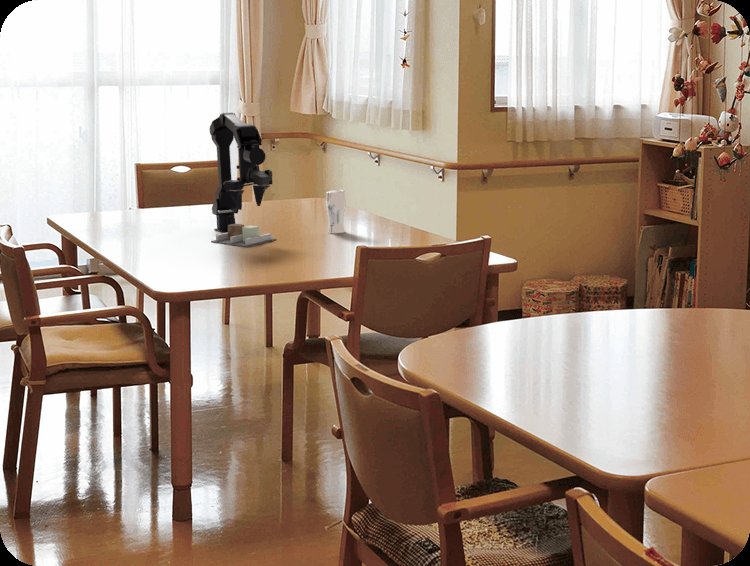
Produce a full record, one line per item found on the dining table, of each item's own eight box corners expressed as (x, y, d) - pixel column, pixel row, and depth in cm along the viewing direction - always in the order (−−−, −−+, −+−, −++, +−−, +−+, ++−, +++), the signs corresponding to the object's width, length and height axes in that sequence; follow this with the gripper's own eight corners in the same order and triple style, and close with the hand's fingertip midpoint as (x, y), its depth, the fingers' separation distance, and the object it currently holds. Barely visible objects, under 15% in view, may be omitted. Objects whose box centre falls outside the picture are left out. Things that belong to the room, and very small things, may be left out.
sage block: (242, 241, 330) (242, 227, 328) (251, 239, 333) (250, 225, 332) (251, 242, 327) (250, 228, 326) (259, 240, 330) (258, 226, 329)
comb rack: (210, 242, 331) (210, 235, 331) (241, 235, 343) (240, 228, 342) (246, 247, 321) (246, 240, 321) (276, 239, 333) (276, 233, 333)
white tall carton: (343, 234, 342) (342, 192, 338) (324, 233, 343) (323, 192, 339) (348, 230, 348) (347, 189, 345) (329, 230, 350) (328, 189, 346)
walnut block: (228, 239, 334) (227, 225, 332) (236, 237, 337) (235, 223, 336) (236, 240, 331) (235, 226, 330) (244, 238, 334) (244, 224, 333)
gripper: (245, 166, 312) (247, 213, 315) (283, 160, 326) (285, 206, 330) (221, 164, 318) (223, 210, 322) (259, 159, 333) (261, 203, 336)
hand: (249, 207), depth 327 cm, fingers open, 9 cm apart
